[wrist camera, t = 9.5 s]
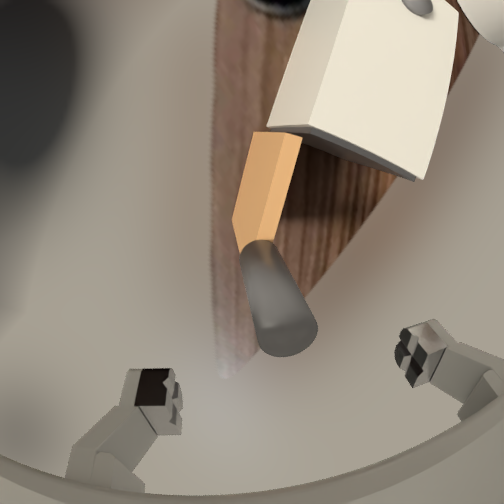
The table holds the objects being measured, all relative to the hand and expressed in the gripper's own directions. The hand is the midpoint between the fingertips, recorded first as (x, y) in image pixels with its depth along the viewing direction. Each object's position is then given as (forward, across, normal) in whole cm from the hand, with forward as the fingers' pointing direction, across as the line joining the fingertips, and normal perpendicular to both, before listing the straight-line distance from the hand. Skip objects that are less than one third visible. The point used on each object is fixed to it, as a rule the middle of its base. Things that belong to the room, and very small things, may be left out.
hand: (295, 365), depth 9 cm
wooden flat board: (+20, +1, +2) cm, 21 cm away
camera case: (+21, +10, +13) cm, 26 cm away
